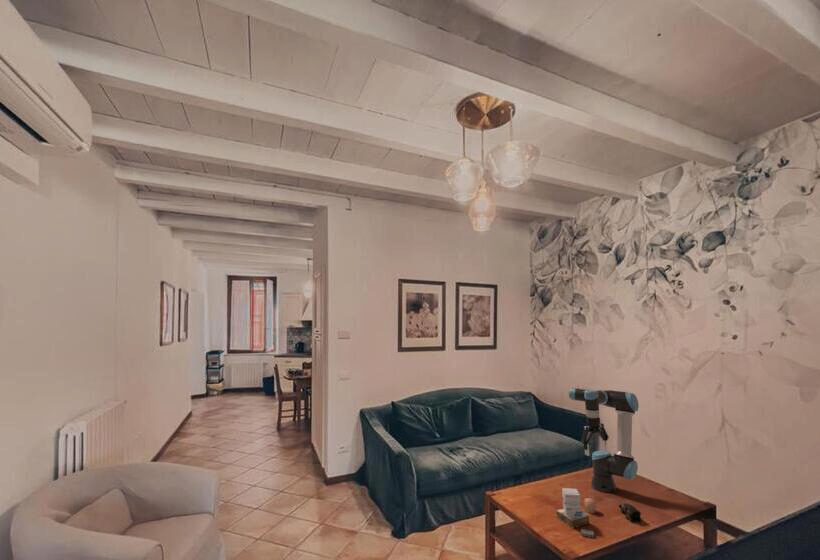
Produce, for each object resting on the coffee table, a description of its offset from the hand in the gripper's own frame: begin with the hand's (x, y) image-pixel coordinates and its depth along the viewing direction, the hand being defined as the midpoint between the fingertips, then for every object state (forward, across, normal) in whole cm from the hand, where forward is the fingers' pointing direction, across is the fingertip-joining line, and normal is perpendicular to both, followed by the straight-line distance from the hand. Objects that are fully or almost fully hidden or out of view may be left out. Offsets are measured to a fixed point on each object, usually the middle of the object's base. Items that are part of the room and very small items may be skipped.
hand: (595, 453), depth 230 cm
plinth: (+34, -21, 0) cm, 40 cm away
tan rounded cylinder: (+34, -3, +5) cm, 35 cm away
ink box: (+30, -21, 0) cm, 36 cm away
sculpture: (+35, +12, -10) cm, 38 cm away
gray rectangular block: (+34, -25, -14) cm, 44 cm away
